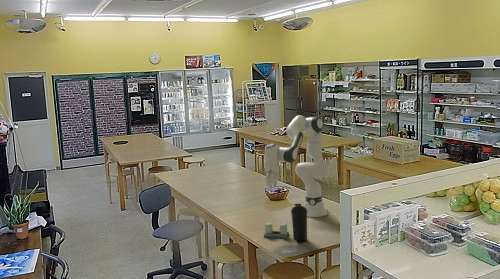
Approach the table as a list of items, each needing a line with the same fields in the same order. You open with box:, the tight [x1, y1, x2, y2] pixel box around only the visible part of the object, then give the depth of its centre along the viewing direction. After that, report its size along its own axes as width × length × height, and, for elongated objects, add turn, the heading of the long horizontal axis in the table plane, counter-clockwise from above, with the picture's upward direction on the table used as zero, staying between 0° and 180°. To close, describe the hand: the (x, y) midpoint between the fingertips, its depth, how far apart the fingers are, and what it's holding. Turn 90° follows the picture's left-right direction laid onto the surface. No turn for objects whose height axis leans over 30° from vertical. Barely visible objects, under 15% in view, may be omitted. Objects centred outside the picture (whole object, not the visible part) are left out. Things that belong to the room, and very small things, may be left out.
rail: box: [263, 230, 290, 241], centre depth 281 cm, size 10×15×3 cm, turn 71°
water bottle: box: [290, 203, 308, 244], centre depth 272 cm, size 10×10×23 cm
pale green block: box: [279, 222, 288, 235], centre depth 279 cm, size 4×4×8 cm
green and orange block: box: [264, 222, 274, 234], centre depth 282 cm, size 4×4×8 cm
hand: (273, 188), depth 289 cm, fingers open, 8 cm apart
